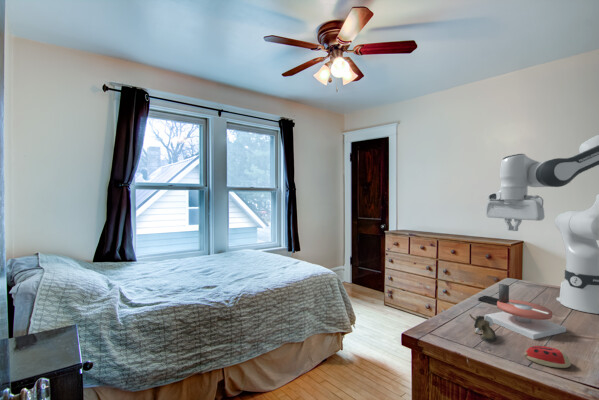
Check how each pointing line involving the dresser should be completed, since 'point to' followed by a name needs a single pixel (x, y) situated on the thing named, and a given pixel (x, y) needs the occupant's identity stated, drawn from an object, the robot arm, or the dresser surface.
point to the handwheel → (521, 306)
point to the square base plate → (526, 325)
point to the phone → (489, 300)
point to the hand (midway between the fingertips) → (512, 230)
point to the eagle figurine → (484, 328)
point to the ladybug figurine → (548, 356)
